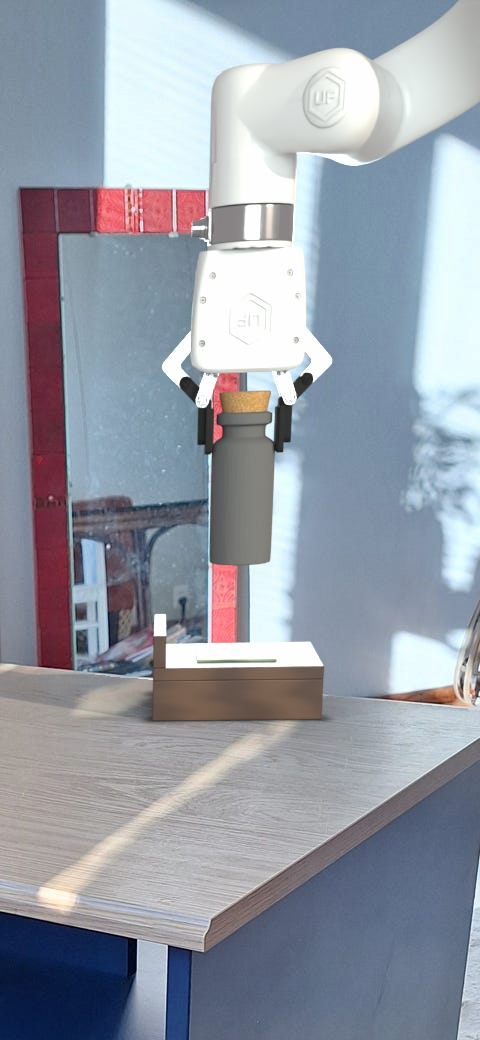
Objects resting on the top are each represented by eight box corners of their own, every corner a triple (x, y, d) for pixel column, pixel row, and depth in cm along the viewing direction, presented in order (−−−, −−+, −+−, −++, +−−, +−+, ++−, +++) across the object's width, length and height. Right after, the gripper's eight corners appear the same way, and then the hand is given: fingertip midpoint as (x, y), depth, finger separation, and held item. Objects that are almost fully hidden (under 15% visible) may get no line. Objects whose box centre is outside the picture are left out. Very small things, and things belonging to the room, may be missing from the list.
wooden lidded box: (308, 690, 152) (312, 611, 149) (321, 719, 140) (326, 633, 136) (153, 692, 154) (154, 614, 151) (152, 721, 141) (153, 636, 138)
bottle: (282, 562, 139) (289, 389, 133) (228, 567, 137) (233, 392, 131) (250, 557, 144) (256, 390, 138) (198, 561, 142) (201, 392, 136)
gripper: (152, 233, 127) (150, 457, 134) (355, 224, 125) (341, 452, 132) (152, 240, 134) (150, 453, 141) (345, 232, 132) (332, 448, 139)
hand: (243, 450), depth 137 cm, fingers closed on bottle, 5 cm apart
